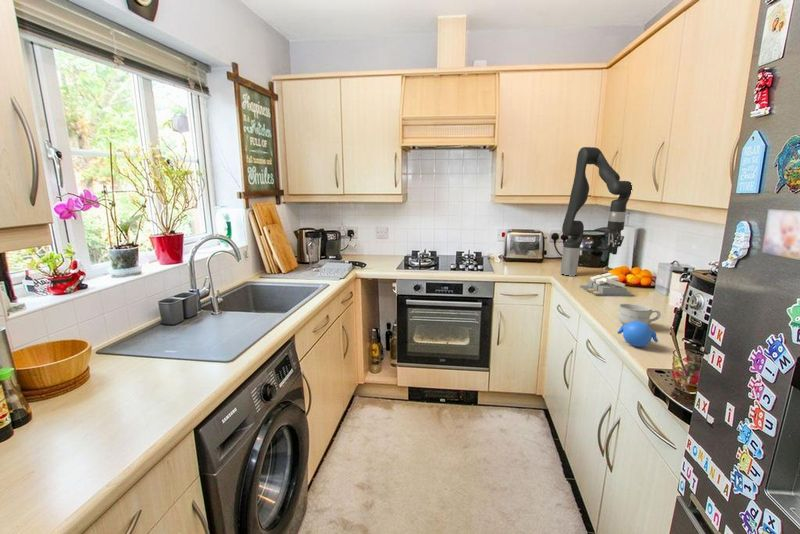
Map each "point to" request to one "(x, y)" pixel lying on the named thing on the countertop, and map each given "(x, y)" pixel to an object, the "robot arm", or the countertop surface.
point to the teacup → (636, 313)
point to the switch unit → (605, 289)
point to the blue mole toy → (637, 333)
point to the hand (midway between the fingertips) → (612, 253)
